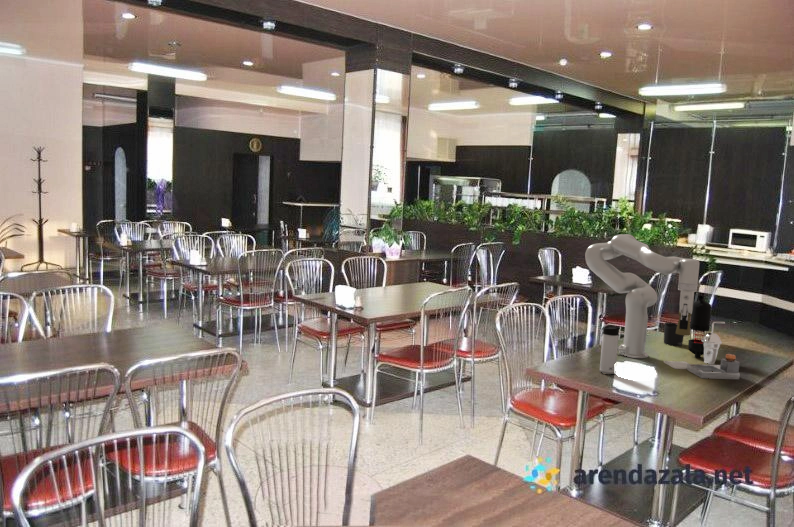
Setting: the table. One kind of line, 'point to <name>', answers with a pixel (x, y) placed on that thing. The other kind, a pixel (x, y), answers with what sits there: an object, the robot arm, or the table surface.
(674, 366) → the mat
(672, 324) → the pen holder
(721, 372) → the housing
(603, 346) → the travel mug
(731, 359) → the plunger
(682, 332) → the brown waisted column
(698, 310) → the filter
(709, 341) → the cup with straw
